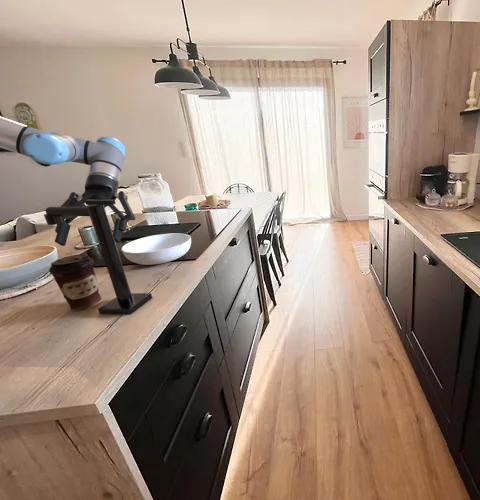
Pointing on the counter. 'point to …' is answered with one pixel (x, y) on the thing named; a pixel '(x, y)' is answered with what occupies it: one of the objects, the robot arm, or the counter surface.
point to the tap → (104, 254)
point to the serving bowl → (157, 248)
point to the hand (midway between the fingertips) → (88, 242)
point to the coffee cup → (76, 281)
